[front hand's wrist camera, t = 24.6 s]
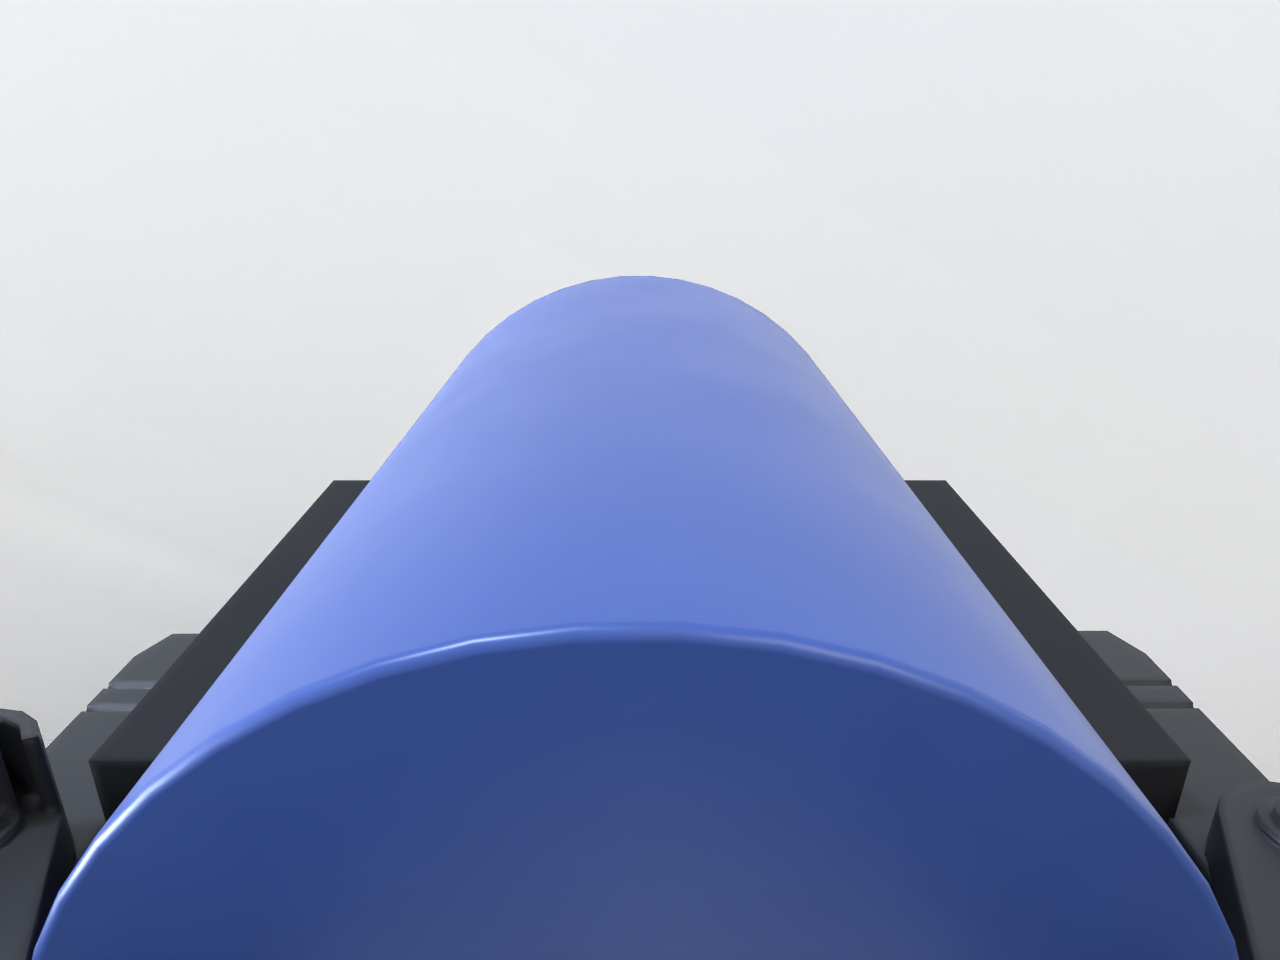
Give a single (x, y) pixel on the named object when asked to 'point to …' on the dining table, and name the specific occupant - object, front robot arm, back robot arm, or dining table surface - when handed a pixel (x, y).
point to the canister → (636, 699)
